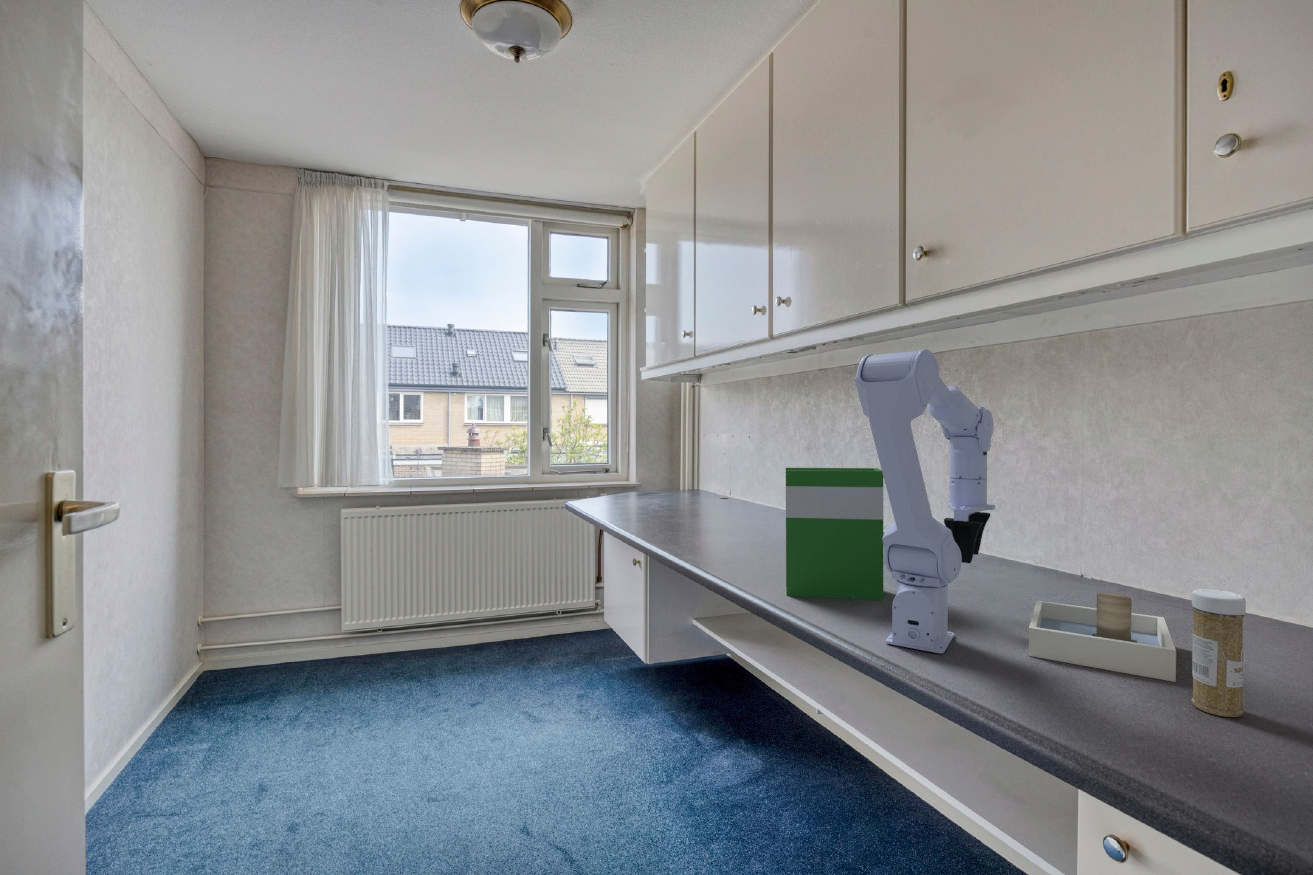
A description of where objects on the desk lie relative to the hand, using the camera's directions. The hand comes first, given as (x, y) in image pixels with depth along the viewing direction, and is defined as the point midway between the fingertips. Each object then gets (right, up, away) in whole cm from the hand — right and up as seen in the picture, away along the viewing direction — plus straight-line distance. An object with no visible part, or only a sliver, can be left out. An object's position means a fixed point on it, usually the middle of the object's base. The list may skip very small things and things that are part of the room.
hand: (967, 557), depth 106 cm
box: (+11, -10, -16) cm, 22 cm away
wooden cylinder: (+12, -10, -17) cm, 23 cm away
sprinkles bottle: (+11, -11, -34) cm, 38 cm away
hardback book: (-19, -10, +16) cm, 26 cm away
